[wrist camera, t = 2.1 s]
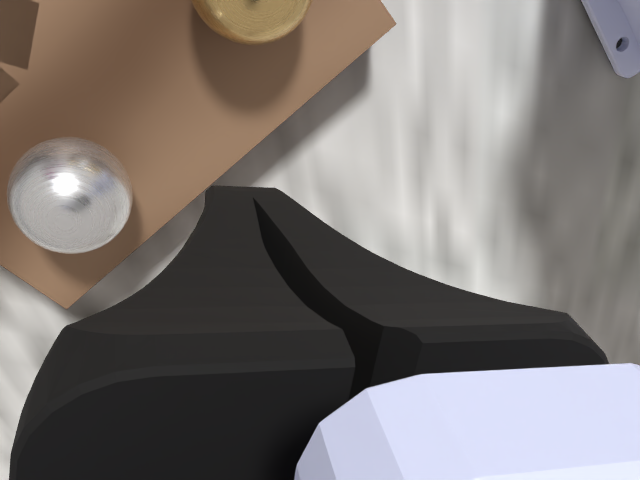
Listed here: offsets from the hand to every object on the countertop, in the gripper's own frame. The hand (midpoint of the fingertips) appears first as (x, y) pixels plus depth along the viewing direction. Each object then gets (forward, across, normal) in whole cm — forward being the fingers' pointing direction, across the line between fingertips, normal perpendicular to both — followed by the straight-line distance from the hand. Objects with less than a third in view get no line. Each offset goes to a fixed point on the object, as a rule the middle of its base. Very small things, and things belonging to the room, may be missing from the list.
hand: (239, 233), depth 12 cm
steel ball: (+6, +4, +2) cm, 7 cm away
